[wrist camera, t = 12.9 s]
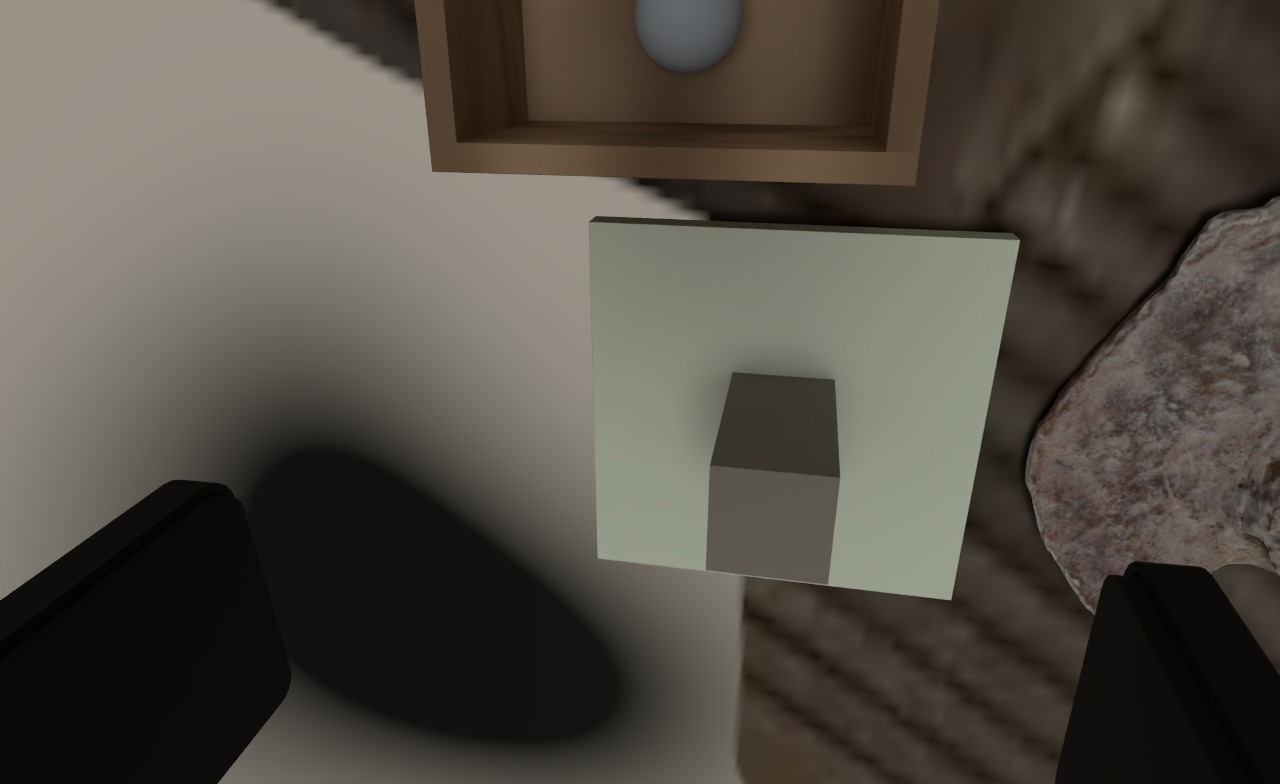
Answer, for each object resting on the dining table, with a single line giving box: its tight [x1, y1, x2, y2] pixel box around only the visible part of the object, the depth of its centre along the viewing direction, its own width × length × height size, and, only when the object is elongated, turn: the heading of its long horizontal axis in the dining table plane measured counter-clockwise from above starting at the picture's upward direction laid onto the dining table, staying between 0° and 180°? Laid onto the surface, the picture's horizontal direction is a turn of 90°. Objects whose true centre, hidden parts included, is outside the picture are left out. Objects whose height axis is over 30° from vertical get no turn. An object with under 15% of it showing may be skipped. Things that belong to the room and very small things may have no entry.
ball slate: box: [635, 0, 742, 74], centre depth 24 cm, size 3×3×3 cm
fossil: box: [1025, 196, 1280, 615], centre depth 27 cm, size 17×4×15 cm
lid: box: [589, 216, 1020, 600], centre depth 27 cm, size 14×14×8 cm
